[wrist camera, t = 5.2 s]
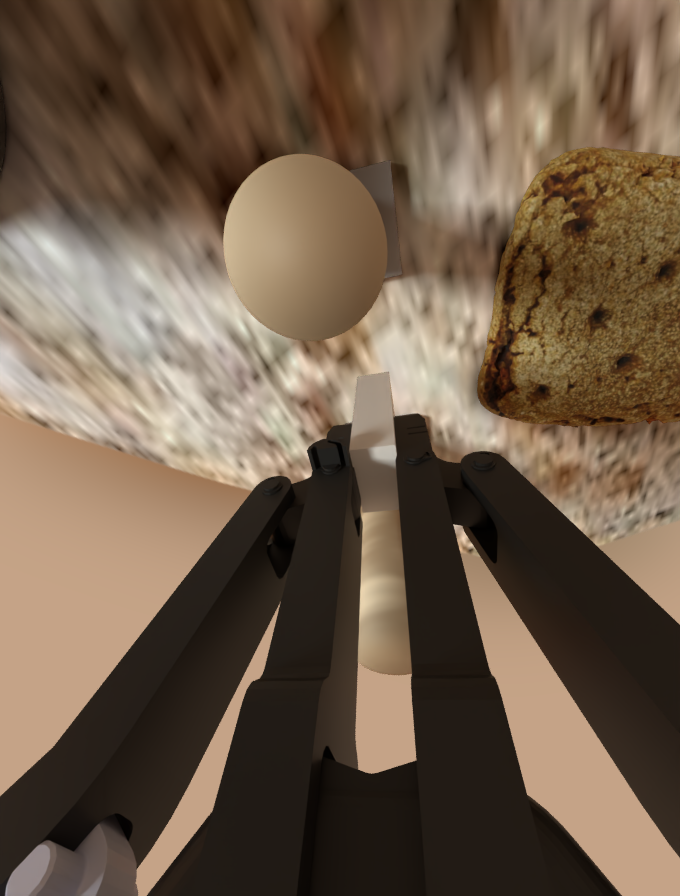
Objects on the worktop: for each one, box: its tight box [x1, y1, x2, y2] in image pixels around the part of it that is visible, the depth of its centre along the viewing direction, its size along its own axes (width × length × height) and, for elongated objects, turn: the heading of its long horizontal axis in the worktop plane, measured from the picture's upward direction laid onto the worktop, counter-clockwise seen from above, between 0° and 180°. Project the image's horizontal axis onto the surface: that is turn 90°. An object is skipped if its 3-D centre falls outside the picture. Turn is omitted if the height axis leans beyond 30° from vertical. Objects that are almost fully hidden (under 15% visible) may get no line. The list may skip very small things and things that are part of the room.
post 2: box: [346, 414, 412, 675], centre depth 21 cm, size 5×5×15 cm
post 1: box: [223, 154, 402, 341], centre depth 13 cm, size 5×5×15 cm
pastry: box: [477, 147, 680, 427], centre depth 20 cm, size 17×17×3 cm
